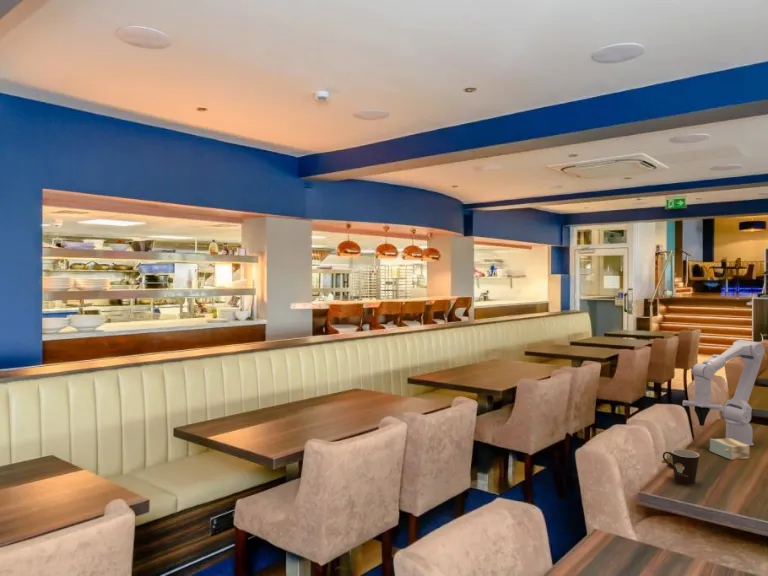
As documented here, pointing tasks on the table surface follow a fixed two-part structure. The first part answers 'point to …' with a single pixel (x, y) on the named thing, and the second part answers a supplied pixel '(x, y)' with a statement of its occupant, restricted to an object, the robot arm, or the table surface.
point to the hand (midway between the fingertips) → (701, 425)
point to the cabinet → (736, 448)
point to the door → (720, 448)
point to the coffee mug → (684, 465)
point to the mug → (668, 458)
